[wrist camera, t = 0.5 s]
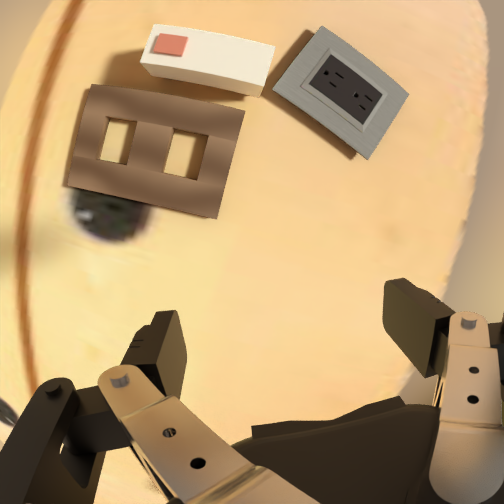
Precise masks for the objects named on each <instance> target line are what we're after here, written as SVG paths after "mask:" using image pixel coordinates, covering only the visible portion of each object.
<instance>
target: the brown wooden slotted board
mask: <svg viewBox="0 0 504 504" xmlns="http://www.w3.org/2000/svg"><path fill="white" fill-rule="evenodd" d="M244 114H245V111H244V110H240V109H236V108H232V107H227V106H223V105H219V104H214V103H210V102H205V101H200V100H195V99H190V98H185V97H180V96H175V95H169V94H163V93H157V92H151V91H144V90H138V89H130V88H123V87H115V86H106V85H96V84H91V88H90V91H89V94H88V97H87V101H86V104H85V108H84V112H83V115H82V119H81V123H80V127H79V131H78V135H77V139H76V144H75V148H74V153H73V158H72V163H71V168H70V173H69V178H68V184H67V186H72V187H77V188H81V189H86V190H91V191H95V192H100V193H104V194H109V195H113V196H118V197H122V198H127V199H131V200H136V201H140V202H145V203H149V204H153V205H158V206H162V207H166V208H171V209H175V210H179V211H183V212H188V213H192V214H196V215H200V216H204V217H209V218H213V219H217V216H218V212H219V208H220V204H221V200H222V196H223V192H224V188H225V185H226V181H227V177H228V173H229V169H230V165H231V162H232V158H233V154H234V150H235V147H236V143H237V139H238V136H239V132H240V129H241V125H242V121H243V118H244ZM110 118H115V119H121V120H128V121H134V122H137V126H136V130H135V134H134V137H133V141H132V145H131V149H130V154H129V158H128V162H127V165H125V164H120V163H115V162H110V161H104V160H100V157H101V152H102V148H103V144H104V140H105V136H106V132H107V128H108V124H109V120H110ZM175 129H177V130H182V131H186V132H191V133H196V134H200V135H205V136H209V137H208V141H207V144H206V148H205V152H204V156H203V160H202V163H201V167H200V171H199V175H198V179H197V180H194V179H190V178H186V177H181V176H177V175H172V174H168V173H164V170H165V165H166V161H167V157H168V153H169V149H170V146H171V142H172V138H173V134H174V130H175Z"/></svg>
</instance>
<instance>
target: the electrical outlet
mask: <svg viewBox="0 0 504 504" xmlns="http://www.w3.org/2000/svg"><path fill="white" fill-rule="evenodd" d="M272 90H273V91H274V92H276V93H277V94H279V95H280V96H282V97H283V98H285V99H286V100H288V101H289V102H291V103H292V104H294V105H295V106H297V107H298V108H300V109H301V110H302V111H304V112H305V113H307V114H308V115H309V116H311V117H312V118H314V119H315V120H316V121H318V122H319V123H320V124H322V125H323V126H324V127H326V128H327V129H329V130H330V131H331V132H332V133H334V134H335V135H336V136H338V137H339V138H340V139H342V140H343V141H344V142H345V143H347V144H348V145H349V146H350V147H352V148H353V149H354V150H355V151H357V152H358V153H359V154H360V155H362V156H363V157H364V158H365V159H366V160H368V159H369V158H370V156H371V155H372V153H373V151H374V150H375V148H376V147H377V145H378V144H379V142H380V141H381V139H382V137H383V136H384V134H385V133H386V131H387V129H388V128H389V126H390V125H391V123H392V121H393V120H394V118H395V117H396V115H397V113H398V112H399V110H400V109H401V107H402V105H403V104H404V102H405V100H406V99H407V97H408V95H409V94H408V93H407V92H406V91H405V90H404V89H403V88H402V87H401V86H400V85H399V84H397V83H396V82H395V81H394V80H393V79H392V78H391V77H389V76H388V75H387V74H386V73H385V72H383V71H382V70H381V69H380V68H379V67H377V66H376V65H375V64H374V63H373V62H371V61H370V60H369V59H367V58H366V57H365V56H364V55H362V54H361V53H360V52H358V51H357V50H356V49H355V48H353V47H352V46H350V45H349V44H348V43H346V42H345V41H344V40H342V39H341V38H339V37H338V36H337V35H335V34H334V33H332V32H331V31H329V30H328V29H326V28H325V27H323V26H321V27H320V28H319V30H318V31H317V32H316V33H315V34H314V36H313V37H312V38H311V39H310V41H309V42H308V43H307V44H306V46H305V47H304V48H303V49H302V51H301V52H300V53H299V54H298V56H297V57H296V58H295V60H294V61H293V62H292V63H291V65H290V66H289V67H288V69H287V70H286V71H285V73H284V74H283V75H282V77H281V78H280V79H279V81H278V82H277V83H276V85H275V86H274V87H273V89H272Z"/></svg>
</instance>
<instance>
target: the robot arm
mask: <svg viewBox="0 0 504 504" xmlns="http://www.w3.org/2000/svg"><path fill="white" fill-rule="evenodd" d="M383 325H384V328H385V331H386V332H387V333H388V335H389V336H390V337H391V338H392V339H393V341H394V342H395V343H396V344H397V345H398V346H399V348H400V349H401V350H402V351H403V352H404V354H405V355H406V356H407V357H408V359H409V360H410V361H411V362H412V363H413V365H414V366H415V367H416V368H417V369H418V371H419V372H420V373H421V374H422V376H423V377H424V378H428V377H431V376H433V375H436V374H438V375H439V376H438V380H437V384H436V389H435V395H434V400H433V404H432V406H429V405H420V404H408V405H405V403H404V402H403V400H402V399H401V397H400V396H396V397H393V398H389V399H386V400H382V401H379V402H375V403H371V404H367V405H365V406H363V407H361V408H359V409H356V410H354V411H352V412H350V413H348V414H345V415H343V416H341V417H339V418H336V419H334V420H327V421H284V422H278V423H271V424H263V425H255V426H251V428H252V437H250V438H247V439H244V440H242V441H239V442H237V443H235V444H233V445H231V446H230V445H228V444H227V443H226V442H225V441H224V440H223V439H221V438H220V437H219V436H218V435H217V434H216V433H214V432H213V431H212V430H211V429H210V428H209V427H208V426H207V425H205V424H204V423H203V422H202V421H201V420H200V419H199V418H198V417H197V416H196V415H195V414H193V413H192V412H191V411H190V410H189V409H188V408H187V407H186V406H185V405H184V404H183V403H182V402H181V401H180V395H181V390H182V384H183V379H184V374H185V368H186V363H187V351H186V345H185V341H184V337H183V333H182V329H181V324H180V320H179V316H178V313H177V311H176V310H169V311H159V312H156V313H155V316H154V318H153V320H152V322H151V324H150V325H144V326H143V327H142V328H141V329H140V330H139V331H137V332H136V334H135V336H134V338H133V340H132V342H131V344H130V346H129V348H128V350H127V352H126V354H125V356H124V358H123V360H122V362H121V364H120V365H119V366H115V367H112V368H110V369H108V370H106V371H105V372H104V373H102V374H101V376H100V377H99V379H98V385H97V386H94V387H89V388H84V389H79V390H76V389H75V387H74V384H73V382H72V381H71V380H70V379H67V378H54V379H51V380H48V381H46V382H45V383H43V384H42V385H40V386H39V387H38V389H37V390H36V392H35V393H34V395H33V396H32V398H31V400H30V401H29V403H28V405H27V406H26V408H25V409H24V411H23V413H22V415H21V416H20V418H19V420H18V421H17V423H16V425H15V427H14V428H13V430H12V432H11V434H10V435H9V437H8V439H7V441H6V443H5V444H4V446H3V448H2V450H1V452H0V504H93V503H94V498H95V494H96V490H97V486H98V482H99V478H100V474H101V470H102V466H103V462H104V458H105V454H106V451H109V450H114V449H119V448H124V447H129V449H130V450H131V452H132V453H133V455H134V456H135V457H136V459H137V460H138V462H139V463H140V465H141V466H142V467H143V469H144V470H145V472H146V473H147V474H148V476H149V477H150V479H151V480H152V481H153V483H154V484H155V485H156V487H157V488H158V490H159V491H160V492H161V494H162V495H163V497H164V498H165V499H166V501H167V502H168V503H166V504H504V426H502V411H501V409H502V408H501V399H502V400H503V401H504V314H503V318H502V322H500V323H490V324H488V323H487V320H486V319H485V318H484V317H483V316H482V315H479V314H477V313H474V312H467V311H464V312H457V313H456V312H455V311H453V310H452V309H451V308H449V307H448V306H447V305H445V304H444V303H443V302H441V301H440V300H439V299H438V298H435V296H433V295H432V294H431V293H429V292H428V291H426V290H423V289H421V288H418V287H416V286H415V285H413V284H412V283H411V282H409V281H408V280H407V279H405V278H400V279H394V280H389V281H386V282H385V285H384V300H383ZM62 442H63V444H64V446H63V448H62V451H61V453H60V448H61V445H62Z"/></svg>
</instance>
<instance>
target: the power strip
mask: <svg viewBox="0 0 504 504" xmlns="http://www.w3.org/2000/svg"><path fill="white" fill-rule="evenodd" d="M274 51H275V46H271V45H268V44H264V43H260V42H256V41H252V40H248V39H244V38H239V37H235V36H230V35H225V34H220V33H215V32H209V31H204V30H198V29H191V28H185V27H177V26H170V25H161V24H154V26H153V28H152V31H151V33H150V36H149V39H148V41H147V44H146V47H145V49H144V52H143V55H142V58H141V60H140V63H141V64H142V65H143V67H144V68H145V69H146V70H147V71H148V72H149V74H150V75H151V76H155V77H162V78H168V79H174V80H180V81H186V82H191V83H196V84H201V85H206V86H211V87H216V88H220V89H225V90H229V91H233V92H237V93H241V94H245V95H249V96H253V97H257V98H259V97H260V95H261V92H262V90H263V88H264V85H265V81H266V78H267V74H268V71H269V68H270V64H271V61H272V57H273V54H274Z"/></svg>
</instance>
